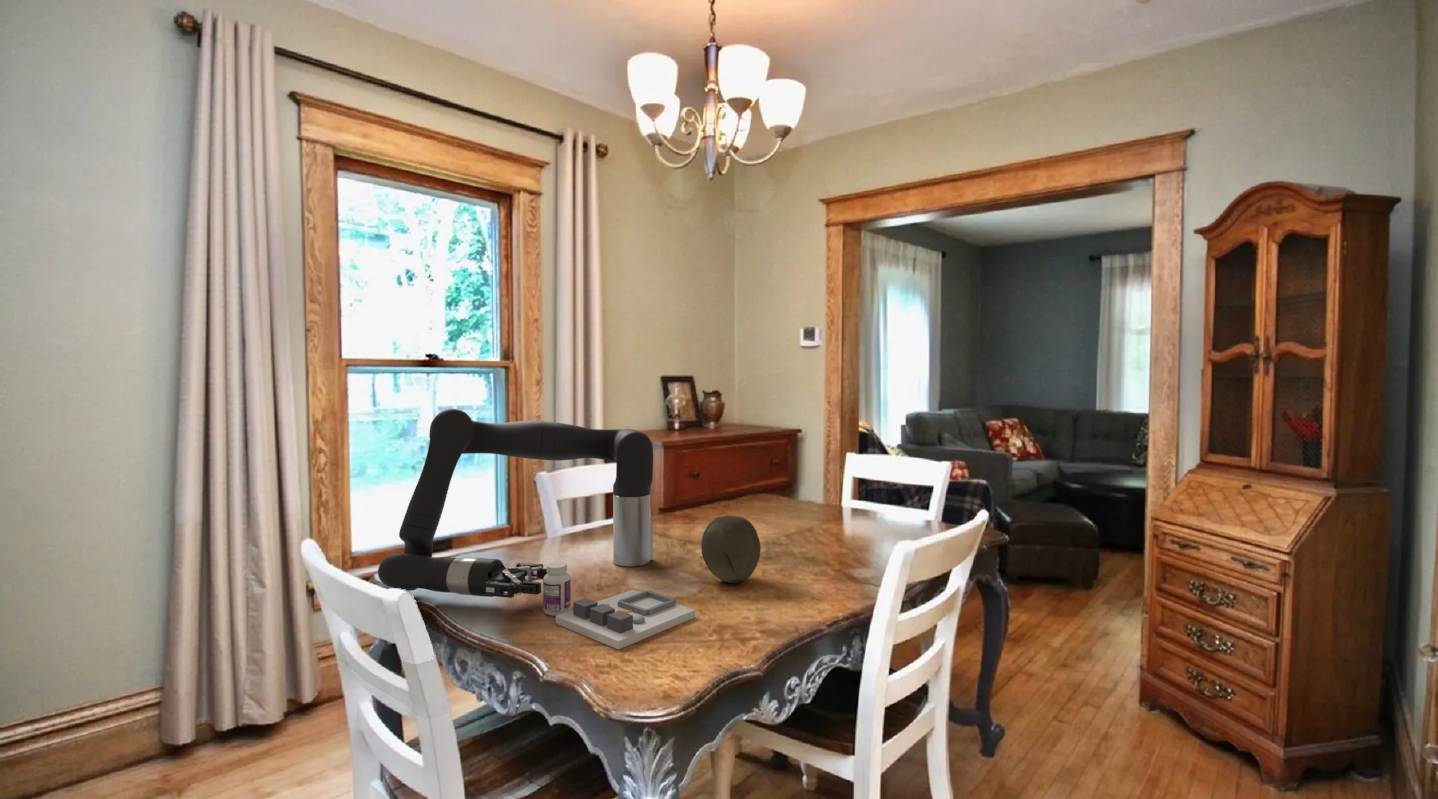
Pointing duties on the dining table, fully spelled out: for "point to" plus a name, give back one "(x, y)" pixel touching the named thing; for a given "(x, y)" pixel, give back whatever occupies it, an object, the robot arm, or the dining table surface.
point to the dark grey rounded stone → (731, 548)
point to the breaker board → (638, 628)
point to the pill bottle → (556, 589)
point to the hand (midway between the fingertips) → (549, 581)
